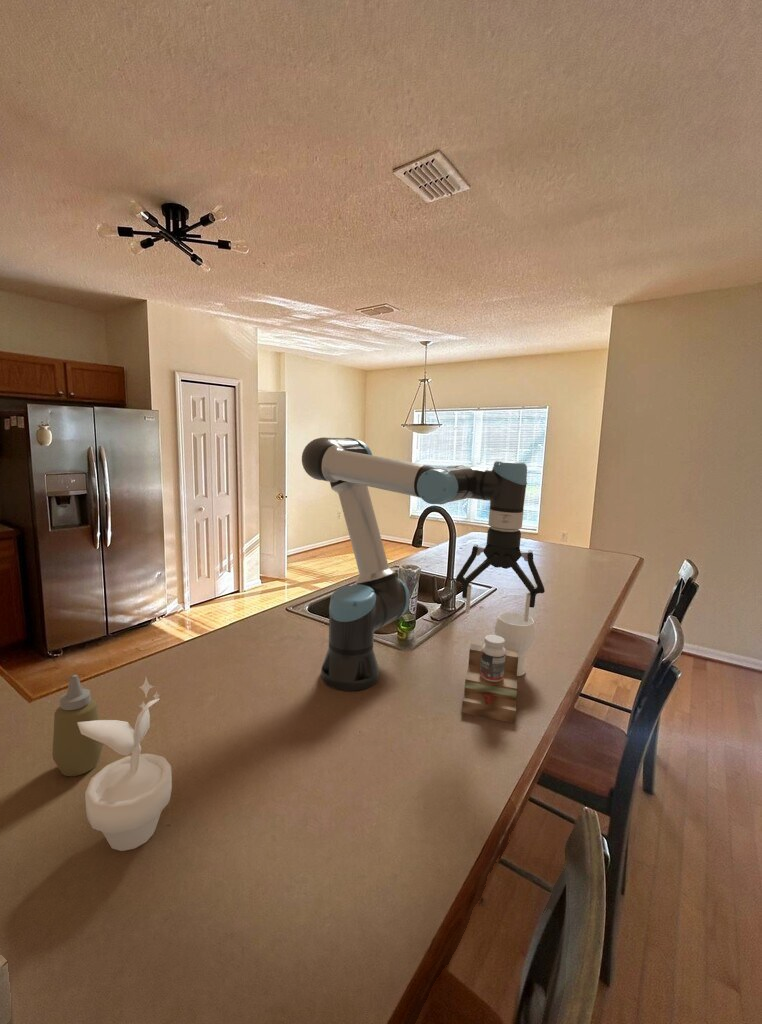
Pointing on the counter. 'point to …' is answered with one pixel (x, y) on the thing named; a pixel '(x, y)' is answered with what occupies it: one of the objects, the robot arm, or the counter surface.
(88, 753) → the squeeze bottle
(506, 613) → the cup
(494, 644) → the pill bottle
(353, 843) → the counter surface
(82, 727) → the potted plant
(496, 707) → the stand
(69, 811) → the counter surface
